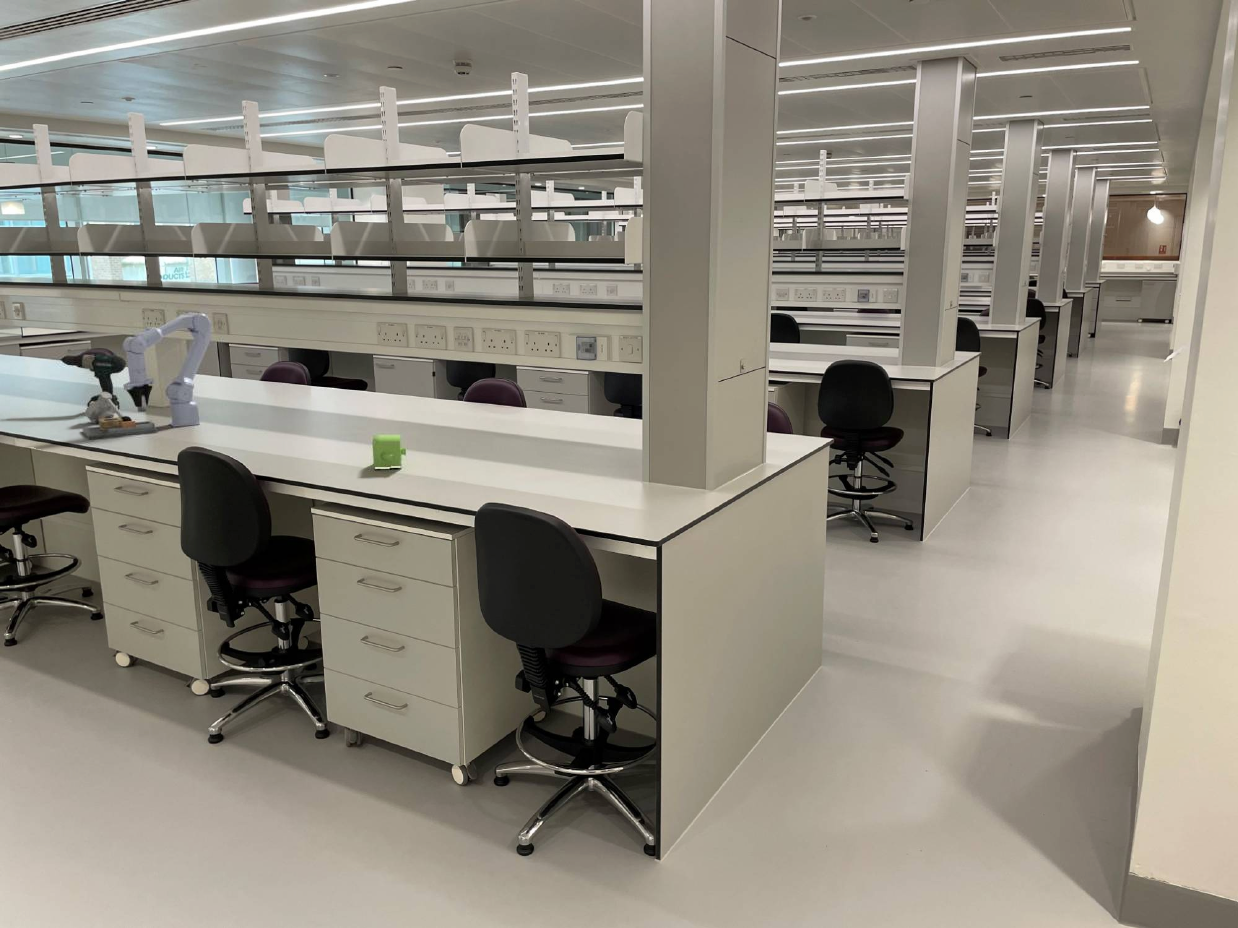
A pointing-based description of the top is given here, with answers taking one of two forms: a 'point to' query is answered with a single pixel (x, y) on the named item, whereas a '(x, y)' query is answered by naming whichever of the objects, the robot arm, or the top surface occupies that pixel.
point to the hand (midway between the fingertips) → (141, 405)
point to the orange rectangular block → (128, 424)
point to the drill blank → (143, 405)
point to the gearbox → (387, 450)
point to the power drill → (99, 370)
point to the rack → (110, 422)
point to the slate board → (120, 430)
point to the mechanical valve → (103, 409)
